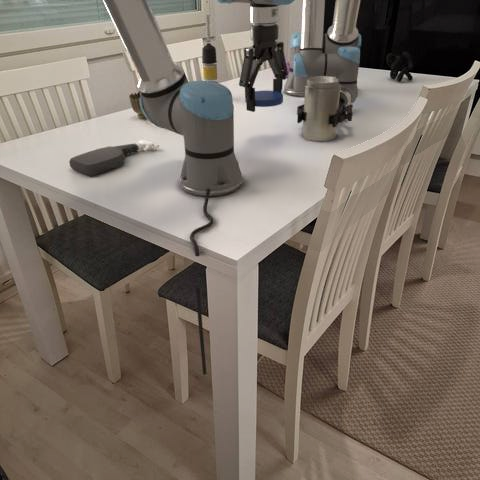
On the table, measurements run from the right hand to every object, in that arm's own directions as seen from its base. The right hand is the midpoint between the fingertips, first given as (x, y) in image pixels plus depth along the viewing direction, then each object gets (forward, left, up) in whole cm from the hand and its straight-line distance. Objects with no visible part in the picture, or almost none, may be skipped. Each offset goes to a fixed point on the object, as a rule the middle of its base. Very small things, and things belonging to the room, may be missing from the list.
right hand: (316, 120), depth 133 cm
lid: (0, -16, +7) cm, 17 cm away
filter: (-50, -35, -6) cm, 61 cm away
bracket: (-92, -2, -6) cm, 92 cm away
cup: (-25, -58, -6) cm, 63 cm away
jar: (-4, +2, -6) cm, 7 cm away
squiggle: (-78, +47, -6) cm, 91 cm away
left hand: (0, -16, +4) cm, 16 cm away
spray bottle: (+15, -57, -6) cm, 59 cm away
